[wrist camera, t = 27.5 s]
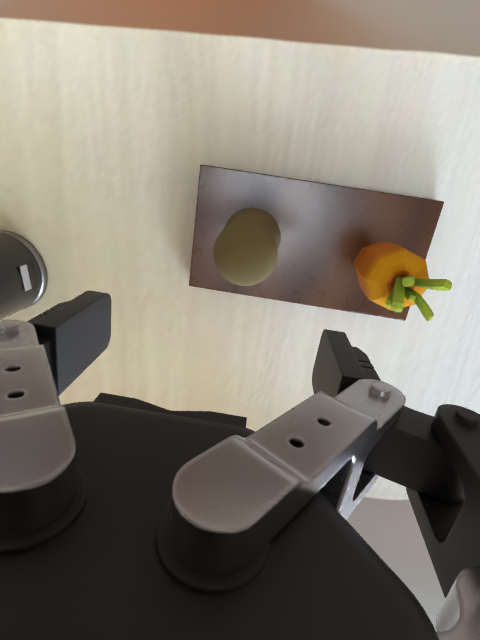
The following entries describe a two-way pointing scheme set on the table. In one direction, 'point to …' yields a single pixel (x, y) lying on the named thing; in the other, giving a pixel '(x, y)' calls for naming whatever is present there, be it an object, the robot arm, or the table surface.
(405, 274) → the carrot
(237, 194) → the cutting board
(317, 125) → the table surface
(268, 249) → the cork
